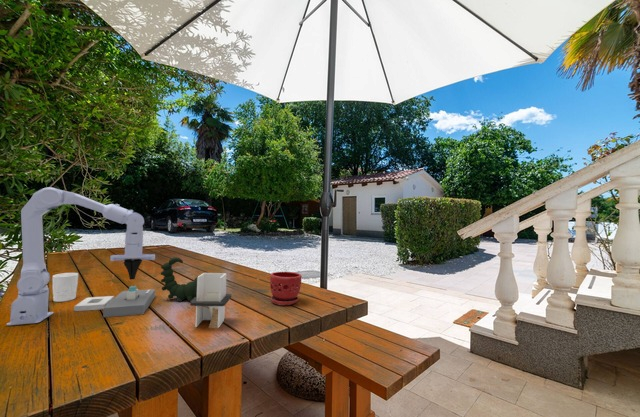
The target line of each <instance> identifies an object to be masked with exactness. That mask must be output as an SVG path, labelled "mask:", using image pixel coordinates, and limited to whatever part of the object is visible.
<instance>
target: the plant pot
mask: <svg viewBox="0 0 640 417" xmlns="http://www.w3.org/2000/svg"><path fill="white" fill-rule="evenodd" d="M269 280H270V281H269V286H270V287H269V288H270V291H271V297H270V301H271V302H272V303H273V304H275V305H278V306H291V305H294V304H296V303H297V302H298V301H299V297H298V295H299V293H300V290H301V285H302V274H300V273H297V272H294V271H275V272H272V273H271V274H270V277H269Z"/></svg>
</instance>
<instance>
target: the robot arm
mask: <svg viewBox="0 0 640 417" xmlns="http://www.w3.org/2000/svg"><path fill="white" fill-rule="evenodd" d="M64 205H77V206H80V207H84V208H86V209H90V210H93V211H96V212H98V213H101V214H102V216H103V218H104V219H107V220H110V221H112V222H116V223H118V224H121V225H123V224H125V225H126V232H125V239H124V240H125V241H124V243H125V244H124V254H112V255H110V258H109V261H110V262H114V261H116V262H117V261H124V262H123V264H124V266H125V268H126V270H127V274H128V277H129V280H135V279H136V276H137V272H138V270H139V268H140V266H141V264H142V262H143V261H150V260H151V261H155V259H156V254H152V253H151V254H150V253H149V254H145V253H143V246H144V244H143V243H144V227H143V225H145V218H144V217H143V215H142V214H140V213H138V212H134V210H133V209H127V208H124V207H122V206H120V205H121V204H118V203H115V204H114V203H109V204H104V203H101V202H99V201H96V200H93V199H91V198H89V197H86V196H84V195H81V194H79V193H75V192H72V191H66V190H62V189H59V188H56V187H50V186H49V187H44V188H40V189H39V190H37V191H35V192H34V193H33V194H32V196H31V198H30V199H29V200H28V201H27V202H26V204H24V206H23V207H22V208H21V211H20V216H21V217H20V220H21V239H22V240H21V242H22V244H21V245H22V267H21V270H20V278H19V279H18V280H17V284H16V288H17V289H18V292H17V293H18V294H17V298H16V299H15V300H14V301H13V302H12V303H11V306H10V321H9V322H7V323H6V325H5V326H16V325H17V326H18V325H19V326H20V325H28V324H38V323H40V322H41V323H42V322H43V321H44V320H45V319H47V318H49V317H50V316H51V315H53V314H54V311H49V294H50V290H49V289H50V288H49V287H48V286H47V284H48V283H49V282H50V280H51V275H50V273H49V272H48V270H47V264H46V262H45V252H44V230H43V228H44V227H43V216H44V215H45V214H46V213H48V212H50V211H51V210H52V209H55V208H58V207H61V206H64Z"/></svg>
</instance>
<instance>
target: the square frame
mask: <svg viewBox="0 0 640 417" xmlns="http://www.w3.org/2000/svg"><path fill="white" fill-rule="evenodd" d="M114 298H115V295H106V296H105V295H104V296H92V297H85V298H84V299H83V300H81V301H80V302H78V303H77V304H75V305H74V308H73V310H74V312H85V311H96V310H97V311H98V310H104V307H105V306H107V305H108V304H109V303H110V302H111V301H112V300H113V299H114Z"/></svg>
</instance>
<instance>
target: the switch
mask: <svg viewBox="0 0 640 417" xmlns="http://www.w3.org/2000/svg"><path fill="white" fill-rule="evenodd" d="M128 291H129V290H122V291H121V292H120V293H118V294H117V295H116V296H114V299H113V300H112V301H111V302H110V303H109V304H108V305H107V306H105V307H104V309H103V312H102V313H103V314H102V315H103V318H112V317H124V316H125V317H126V316H137V315H144V314H145V313H146V311H147V310H148V308H149V307H150V305H151V304H152V302H153V301H154V299H155V298H156V288H155V289H154V288H151V289H138V298H137V299H133V300H127V292H128Z"/></svg>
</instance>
